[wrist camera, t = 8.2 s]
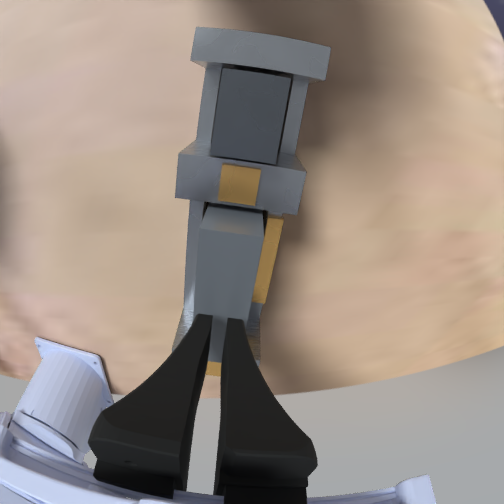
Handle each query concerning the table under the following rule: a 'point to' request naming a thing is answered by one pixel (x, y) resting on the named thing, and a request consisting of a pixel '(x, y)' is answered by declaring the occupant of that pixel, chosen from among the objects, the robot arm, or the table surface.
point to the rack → (246, 145)
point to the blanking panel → (227, 267)
